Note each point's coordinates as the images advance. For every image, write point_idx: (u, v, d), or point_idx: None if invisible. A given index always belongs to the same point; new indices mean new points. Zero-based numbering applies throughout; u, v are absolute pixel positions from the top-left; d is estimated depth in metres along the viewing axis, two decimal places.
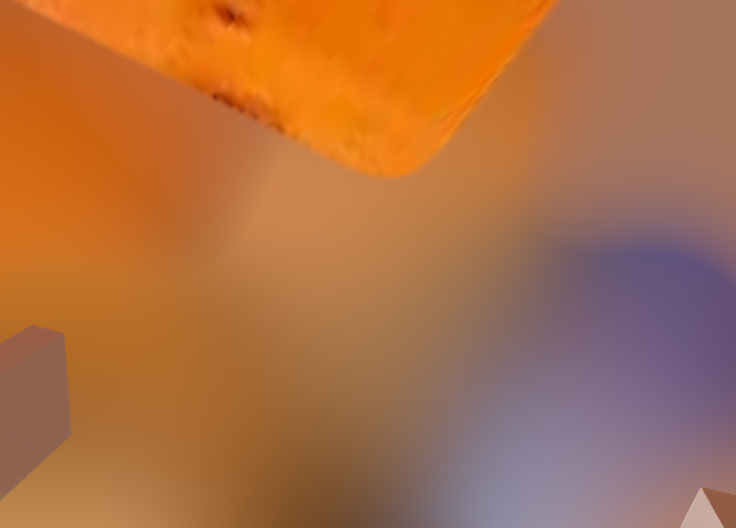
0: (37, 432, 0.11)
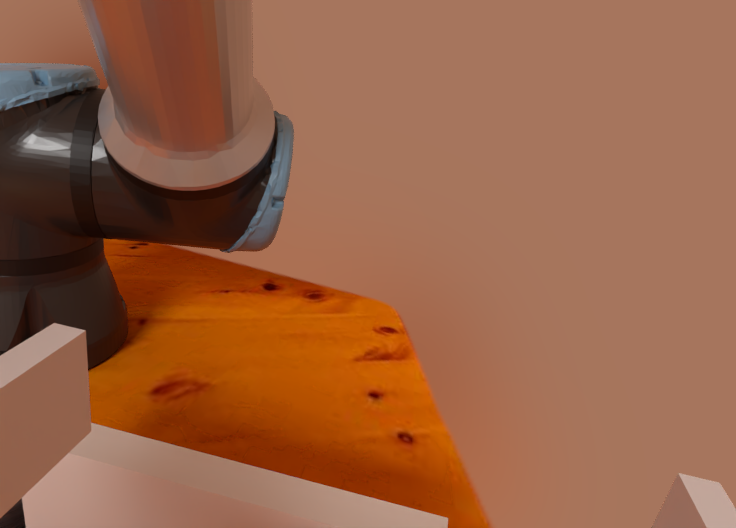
0: (60, 428, 0.11)
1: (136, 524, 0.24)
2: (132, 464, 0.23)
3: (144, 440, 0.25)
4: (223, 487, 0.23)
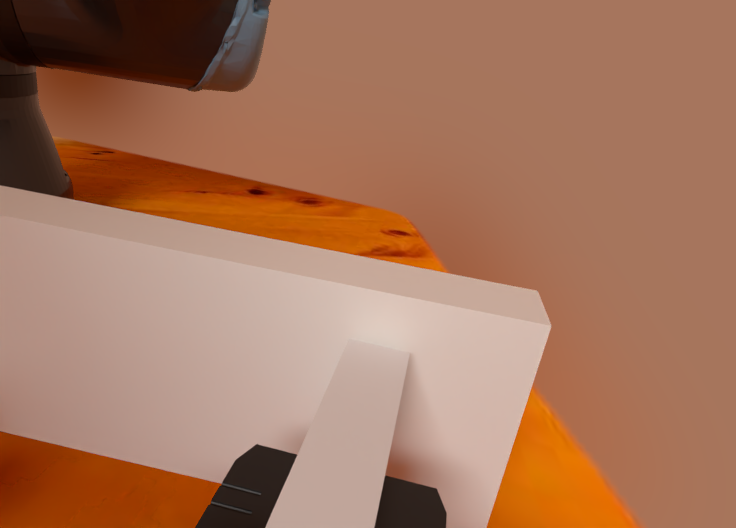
0: None
1: (8, 325, 0.14)
2: None
3: (23, 192, 0.15)
4: (152, 238, 0.13)
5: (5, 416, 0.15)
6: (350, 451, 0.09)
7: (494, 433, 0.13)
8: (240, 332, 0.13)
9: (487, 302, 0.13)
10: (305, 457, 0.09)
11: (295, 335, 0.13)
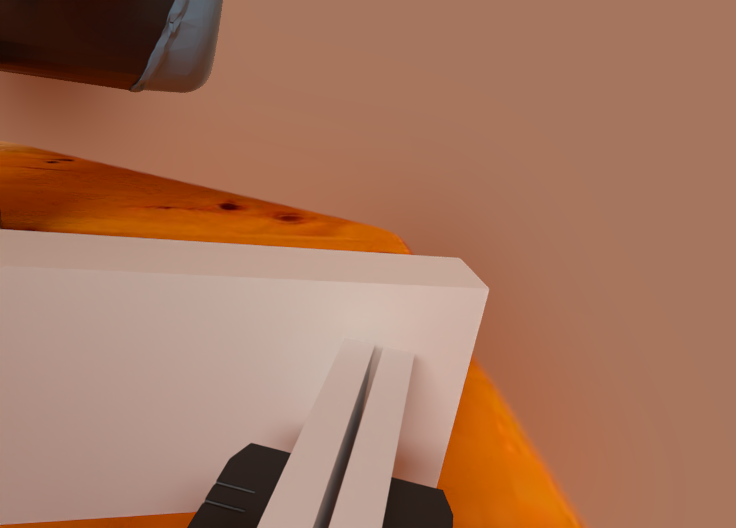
0: (356, 432, 0.12)
1: None
2: None
3: None
4: (56, 260, 0.11)
5: None
6: (356, 453, 0.09)
7: (444, 394, 0.14)
8: (182, 349, 0.12)
9: (428, 275, 0.13)
10: (299, 455, 0.09)
11: (246, 340, 0.12)
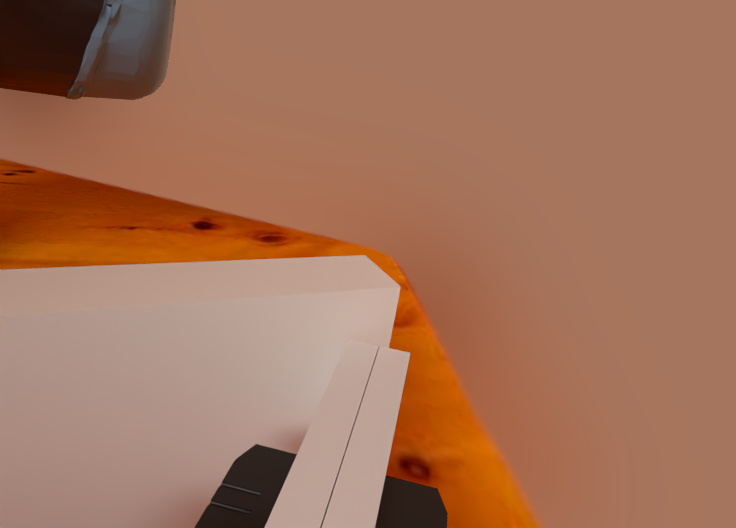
0: None
1: None
2: None
3: None
4: None
5: None
6: (351, 451, 0.09)
7: None
8: (61, 398, 0.10)
9: (337, 278, 0.13)
10: (305, 457, 0.09)
11: (141, 377, 0.11)
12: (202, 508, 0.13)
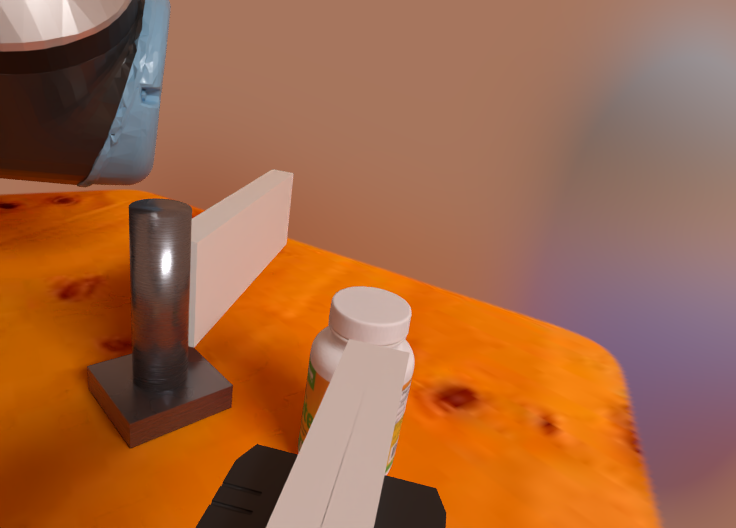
0: None
1: (234, 257, 0.36)
2: (230, 214, 0.35)
3: (207, 211, 0.35)
4: (251, 198, 0.39)
5: (229, 300, 0.37)
6: (349, 451, 0.09)
7: (288, 208, 0.49)
8: (266, 214, 0.42)
9: (282, 175, 0.47)
10: (305, 457, 0.09)
11: (271, 206, 0.43)
12: (272, 247, 0.46)
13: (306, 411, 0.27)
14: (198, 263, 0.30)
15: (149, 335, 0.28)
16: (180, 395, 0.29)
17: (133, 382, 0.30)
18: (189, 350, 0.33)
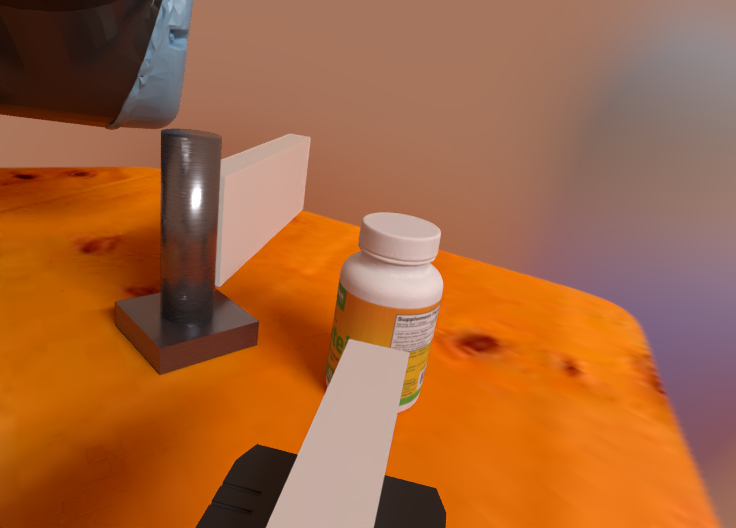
0: None
1: (256, 205, 0.37)
2: (254, 160, 0.35)
3: (231, 157, 0.35)
4: (272, 151, 0.39)
5: (251, 249, 0.37)
6: (349, 451, 0.09)
7: (305, 172, 0.49)
8: (285, 171, 0.42)
9: (299, 137, 0.47)
10: (305, 457, 0.09)
11: (291, 165, 0.43)
12: (290, 208, 0.46)
13: (335, 335, 0.27)
14: (225, 199, 0.31)
15: (178, 264, 0.28)
16: (208, 327, 0.29)
17: (161, 315, 0.30)
18: None
